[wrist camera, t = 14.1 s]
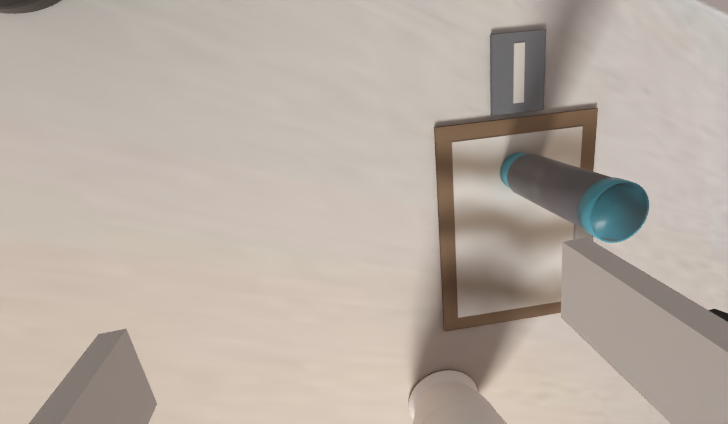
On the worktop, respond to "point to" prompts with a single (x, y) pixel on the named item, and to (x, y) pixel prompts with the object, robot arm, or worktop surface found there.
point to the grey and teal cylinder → (578, 195)
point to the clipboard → (503, 217)
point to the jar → (450, 401)
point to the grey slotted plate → (517, 72)
